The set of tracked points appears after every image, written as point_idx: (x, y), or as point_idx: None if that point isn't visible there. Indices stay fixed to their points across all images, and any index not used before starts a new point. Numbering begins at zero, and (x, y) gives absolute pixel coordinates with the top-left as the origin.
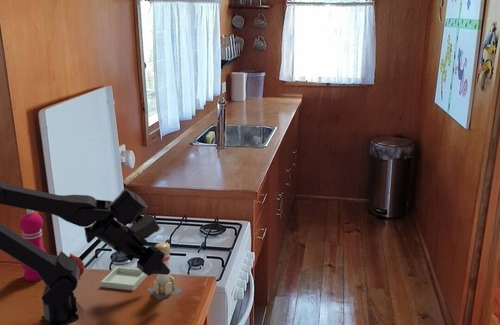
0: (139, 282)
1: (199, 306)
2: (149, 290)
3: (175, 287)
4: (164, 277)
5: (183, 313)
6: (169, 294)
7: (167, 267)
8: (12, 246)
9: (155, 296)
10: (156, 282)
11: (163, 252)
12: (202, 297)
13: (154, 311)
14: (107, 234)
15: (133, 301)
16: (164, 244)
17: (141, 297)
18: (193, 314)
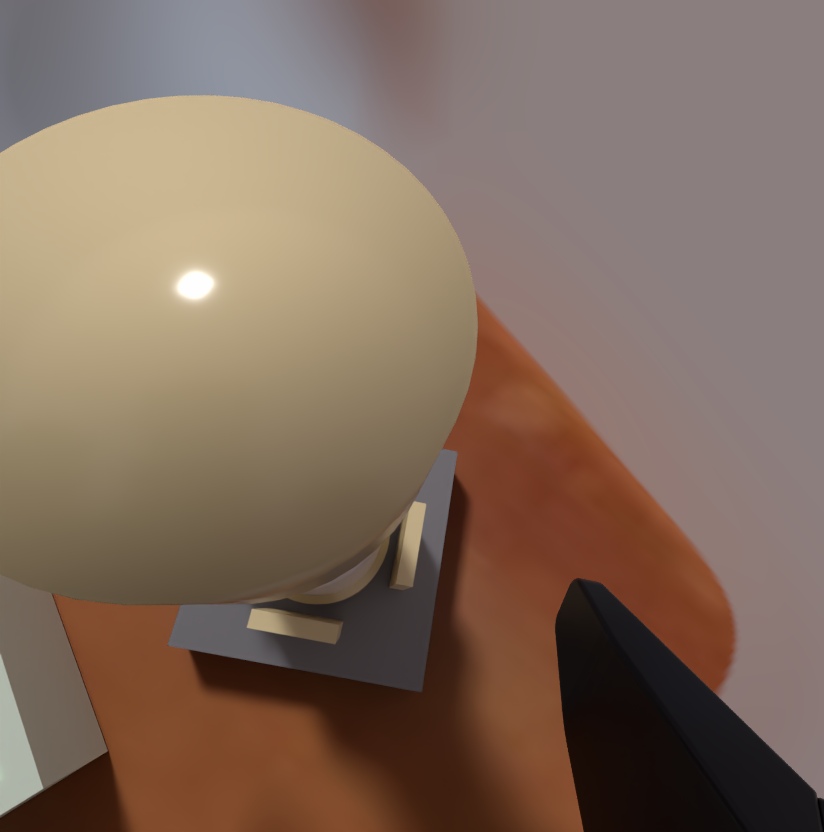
0: (22, 632)
1: (629, 475)
2: (219, 642)
3: None
4: (374, 556)
5: (642, 619)
6: (418, 559)
7: (695, 676)
8: None
9: (354, 674)
10: (303, 627)
11: (415, 493)
12: (545, 384)
13: (472, 781)
14: None
15: (186, 825)
16: (188, 211)
17: (192, 714)
18: (694, 576)
